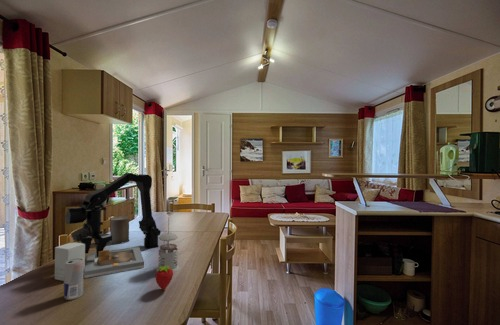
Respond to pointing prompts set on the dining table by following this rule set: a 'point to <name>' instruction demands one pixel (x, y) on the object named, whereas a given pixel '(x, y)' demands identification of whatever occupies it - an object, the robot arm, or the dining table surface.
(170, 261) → the french press
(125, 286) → the dining table surface
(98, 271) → the dial plate
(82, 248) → the supplement box
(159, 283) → the strawberry
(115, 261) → the dial
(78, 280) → the energy drink
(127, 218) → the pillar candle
